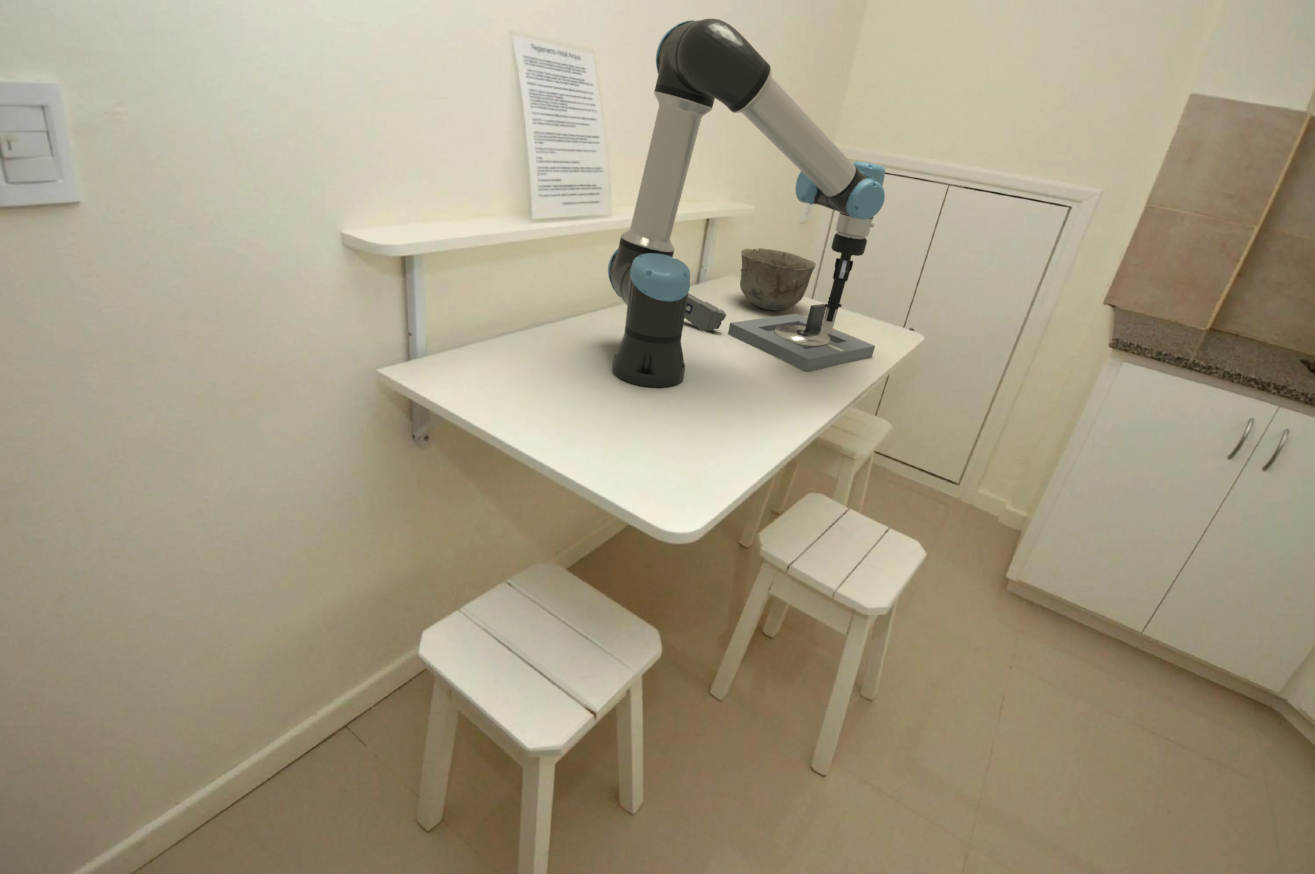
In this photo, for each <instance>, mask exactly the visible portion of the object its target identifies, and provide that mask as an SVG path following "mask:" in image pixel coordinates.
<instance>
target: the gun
mask: <svg viewBox="0 0 1315 874" xmlns="http://www.w3.org/2000/svg"><path fill="white" fill-rule="evenodd" d="M726 316H727V314H726V312H725V311H724V310H723V309H719V308H718V307H716V306H715V305H713V304H712V303H710V302H708V301H704V300H701V299H700V298H698V297H696V296H695V295H692V294H691V293H689V292H688V299H687V305H686V311H685V317H684V320H685V319H686V320H687V322H690V323H691V324H692V325H693V326H694V327H695V328H697V330H699V331H701V332H705V333H706V332H711V331H713V330H719V329H720V326H721V325H722V322H723V321H724V320H725V319H726Z"/></svg>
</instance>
